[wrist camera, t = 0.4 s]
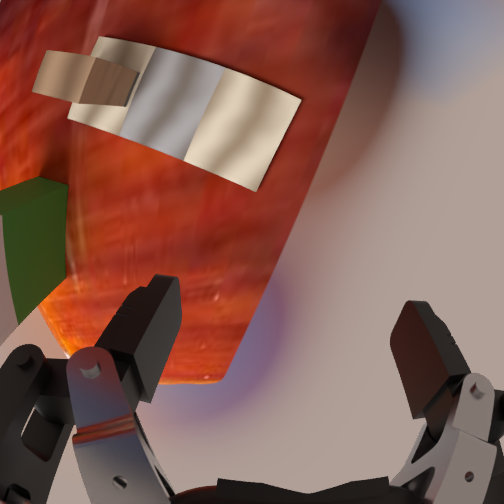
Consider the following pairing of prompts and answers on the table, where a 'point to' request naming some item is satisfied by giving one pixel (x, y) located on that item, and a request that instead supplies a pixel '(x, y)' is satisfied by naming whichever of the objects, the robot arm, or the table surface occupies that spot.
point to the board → (194, 111)
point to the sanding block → (84, 79)
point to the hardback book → (30, 247)
